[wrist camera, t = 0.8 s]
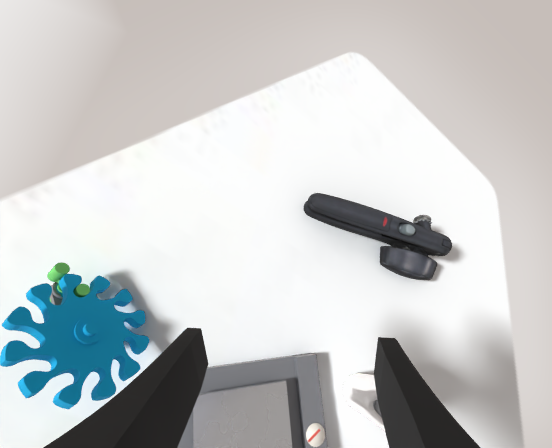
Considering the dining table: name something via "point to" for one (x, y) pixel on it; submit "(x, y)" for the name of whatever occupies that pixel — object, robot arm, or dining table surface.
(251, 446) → the scale pan
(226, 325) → the dining table surface
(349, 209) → the can opener
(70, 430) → the robot arm
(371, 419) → the milkshake
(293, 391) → the scale base
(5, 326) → the gear
